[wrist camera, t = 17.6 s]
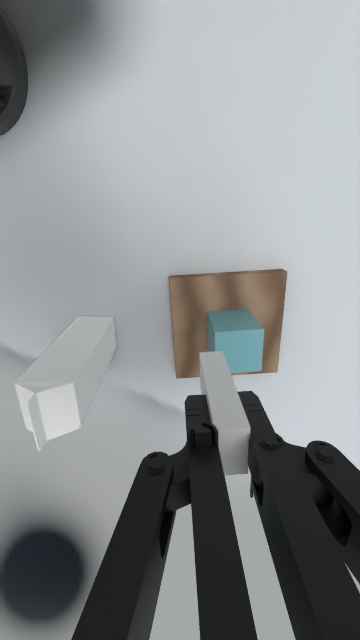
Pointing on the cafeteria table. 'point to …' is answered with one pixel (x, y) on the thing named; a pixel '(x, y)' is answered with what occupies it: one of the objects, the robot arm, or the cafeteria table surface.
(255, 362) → the teal block
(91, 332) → the milk
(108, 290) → the cafeteria table surface
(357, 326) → the cafeteria table surface
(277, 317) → the walnut stand
